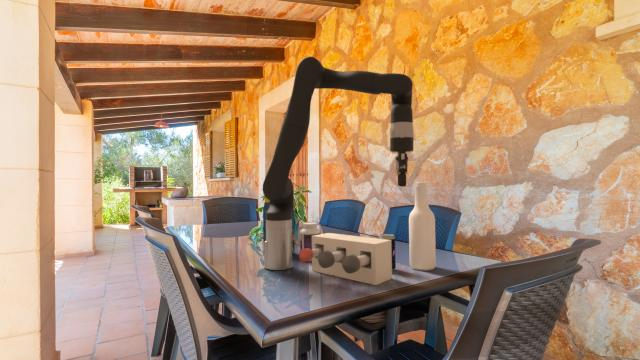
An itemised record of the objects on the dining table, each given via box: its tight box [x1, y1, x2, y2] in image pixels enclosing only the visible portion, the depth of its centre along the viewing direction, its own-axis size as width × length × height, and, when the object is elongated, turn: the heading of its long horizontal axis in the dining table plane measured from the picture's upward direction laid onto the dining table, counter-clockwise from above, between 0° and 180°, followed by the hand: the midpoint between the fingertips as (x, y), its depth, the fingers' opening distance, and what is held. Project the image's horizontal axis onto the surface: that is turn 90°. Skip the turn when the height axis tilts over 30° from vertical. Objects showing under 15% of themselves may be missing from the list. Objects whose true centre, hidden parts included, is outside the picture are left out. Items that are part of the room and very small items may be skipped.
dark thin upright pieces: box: [262, 196, 296, 255], centre depth 147 cm, size 6×12×25 cm, turn 114°
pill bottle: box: [299, 221, 321, 262], centre depth 136 cm, size 8×8×14 cm
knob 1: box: [318, 250, 346, 268], centre depth 107 cm, size 9×5×5 cm, turn 137°
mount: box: [311, 232, 393, 286], centre depth 113 cm, size 9×26×12 cm, turn 47°
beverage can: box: [378, 233, 397, 272], centre depth 118 cm, size 6×6×12 cm
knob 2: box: [342, 254, 371, 274], centre depth 100 cm, size 9×5×5 cm, turn 137°
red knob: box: [298, 247, 324, 263], centre depth 114 cm, size 9×4×4 cm, turn 137°
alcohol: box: [408, 181, 437, 272], centre depth 121 cm, size 9×9×30 cm
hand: (401, 186), depth 114 cm, fingers open, 8 cm apart
